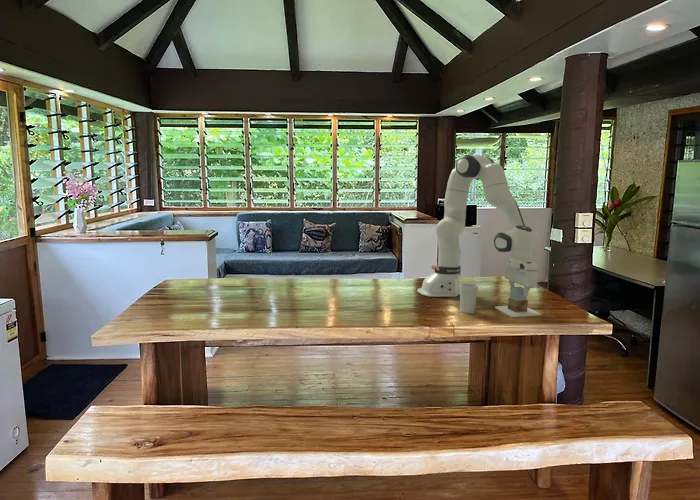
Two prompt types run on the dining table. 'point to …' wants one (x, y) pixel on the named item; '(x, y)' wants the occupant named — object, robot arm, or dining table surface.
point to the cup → (468, 297)
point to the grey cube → (517, 293)
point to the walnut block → (517, 305)
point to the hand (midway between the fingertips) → (518, 293)
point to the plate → (517, 314)
